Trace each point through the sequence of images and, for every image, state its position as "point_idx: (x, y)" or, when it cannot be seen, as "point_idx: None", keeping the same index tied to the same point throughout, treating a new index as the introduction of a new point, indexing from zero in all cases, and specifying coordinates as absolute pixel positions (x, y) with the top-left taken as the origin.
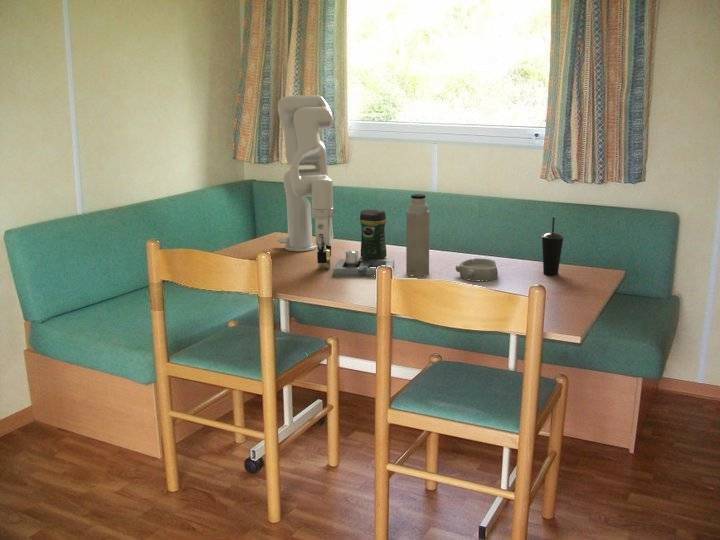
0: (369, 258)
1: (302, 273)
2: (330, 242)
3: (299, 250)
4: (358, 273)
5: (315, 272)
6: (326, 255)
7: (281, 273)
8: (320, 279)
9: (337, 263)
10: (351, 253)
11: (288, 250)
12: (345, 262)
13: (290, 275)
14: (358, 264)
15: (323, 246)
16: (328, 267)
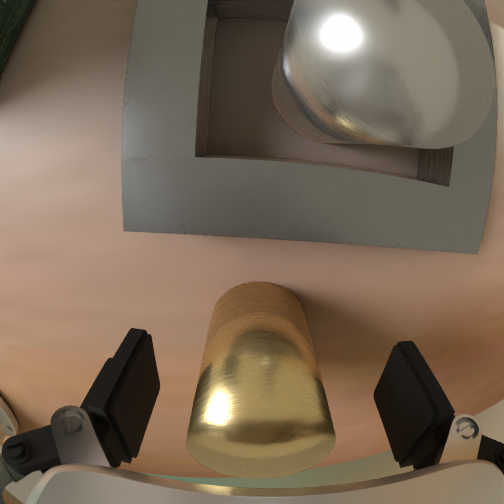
0: (16, 34)
1: (354, 407)
2: (430, 501)
3: (5, 407)
4: None
5: (347, 359)
6: (323, 389)
7: (333, 460)
8: (482, 303)
9: (319, 238)
10: (492, 67)
11: (18, 428)
12: (216, 157)
13: (374, 433)
14: (210, 34)
15: (127, 453)
16: (292, 302)
